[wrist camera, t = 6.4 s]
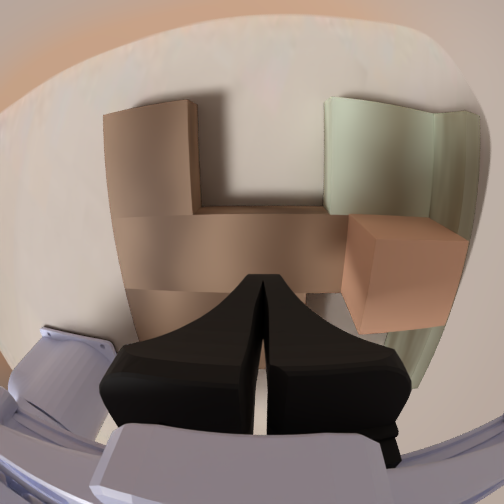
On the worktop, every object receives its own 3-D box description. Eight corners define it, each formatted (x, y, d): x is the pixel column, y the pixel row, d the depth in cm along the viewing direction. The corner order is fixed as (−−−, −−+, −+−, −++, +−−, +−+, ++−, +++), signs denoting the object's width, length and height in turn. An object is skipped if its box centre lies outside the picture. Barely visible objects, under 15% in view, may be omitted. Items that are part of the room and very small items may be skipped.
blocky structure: (153, 342, 20) (130, 387, 15) (120, 116, 14) (70, 112, 9) (395, 343, 19) (417, 388, 14) (429, 118, 13) (479, 115, 8)
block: (340, 291, 15) (358, 334, 11) (348, 213, 14) (375, 239, 10) (414, 288, 15) (444, 325, 11) (428, 217, 13) (469, 241, 9)
